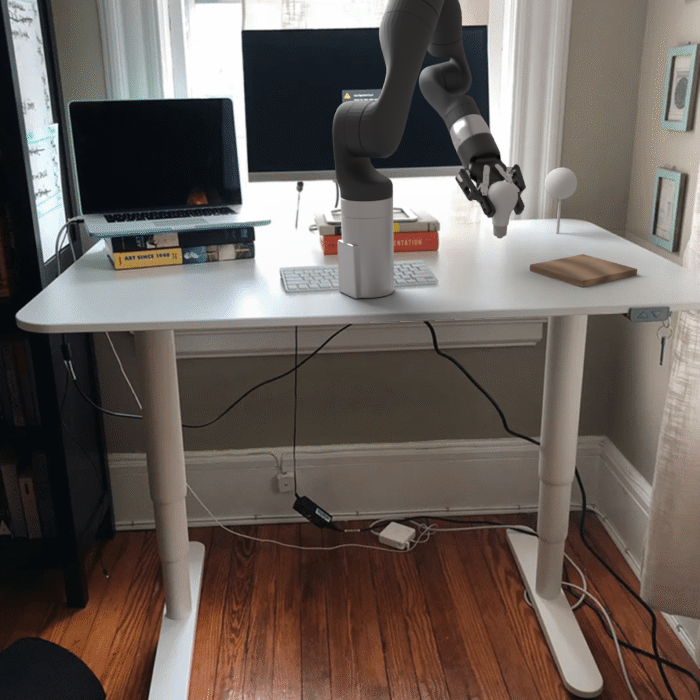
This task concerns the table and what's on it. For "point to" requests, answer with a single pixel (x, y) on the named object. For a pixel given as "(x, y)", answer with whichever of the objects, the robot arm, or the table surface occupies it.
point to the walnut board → (583, 270)
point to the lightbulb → (502, 205)
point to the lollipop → (560, 187)
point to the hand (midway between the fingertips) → (506, 213)
